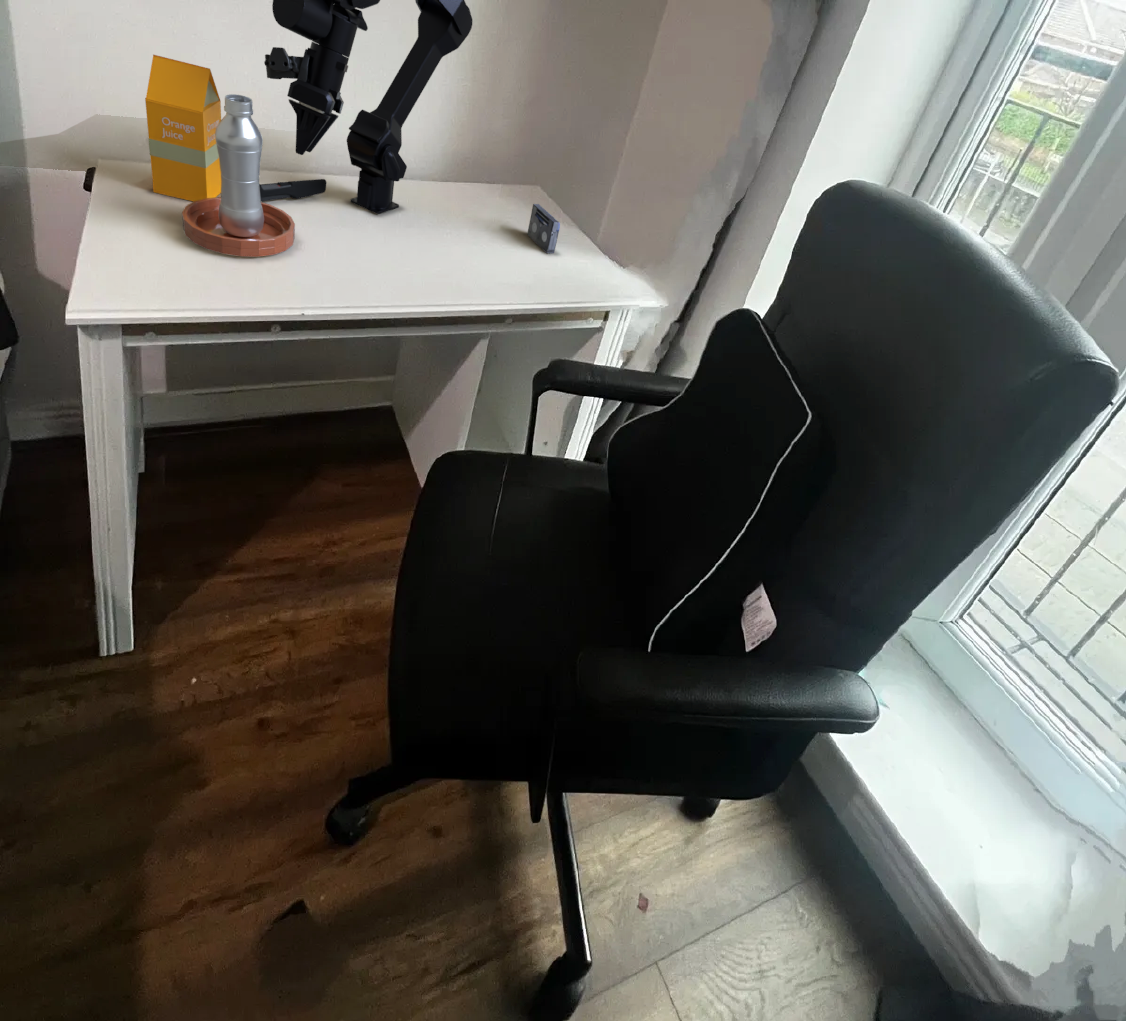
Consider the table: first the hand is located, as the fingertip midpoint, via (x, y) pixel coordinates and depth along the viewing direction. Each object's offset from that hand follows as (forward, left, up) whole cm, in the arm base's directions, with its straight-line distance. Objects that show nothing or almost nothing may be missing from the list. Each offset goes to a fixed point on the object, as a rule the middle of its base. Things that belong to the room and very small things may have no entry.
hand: (303, 152), depth 131 cm
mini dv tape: (-32, +29, -12) cm, 45 cm away
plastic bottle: (+12, -1, -11) cm, 16 cm away
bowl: (+12, -2, -12) cm, 17 cm away
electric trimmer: (-6, -9, -12) cm, 16 cm away
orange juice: (+6, -19, -12) cm, 23 cm away
